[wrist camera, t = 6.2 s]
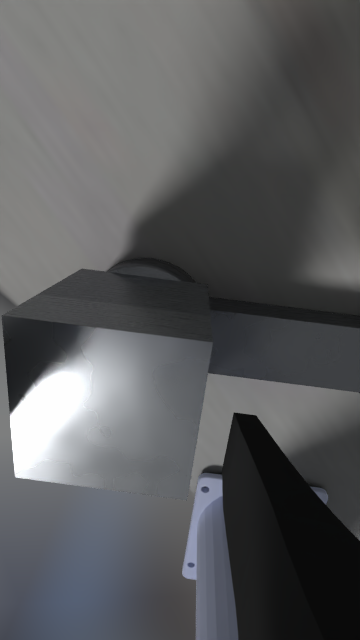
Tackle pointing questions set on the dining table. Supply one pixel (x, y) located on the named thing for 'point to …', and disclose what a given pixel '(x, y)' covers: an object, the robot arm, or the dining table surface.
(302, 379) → the bar
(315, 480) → the dining table surface
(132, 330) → the brushed metal cube
